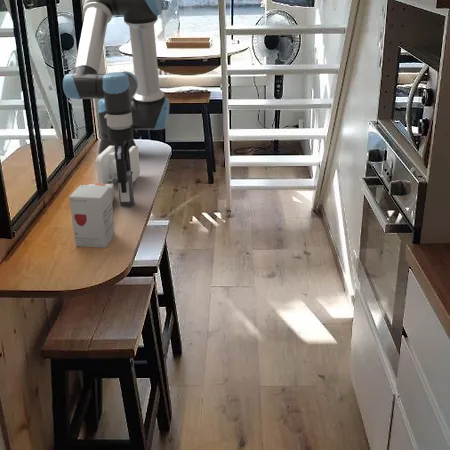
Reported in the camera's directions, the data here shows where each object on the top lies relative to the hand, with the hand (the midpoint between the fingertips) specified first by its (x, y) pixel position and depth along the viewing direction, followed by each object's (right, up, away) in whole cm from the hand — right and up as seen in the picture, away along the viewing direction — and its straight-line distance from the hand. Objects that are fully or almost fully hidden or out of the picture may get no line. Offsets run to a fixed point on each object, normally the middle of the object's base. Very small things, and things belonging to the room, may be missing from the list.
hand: (126, 197), depth 192 cm
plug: (0, -2, +1) cm, 2 cm away
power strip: (-9, -3, -1) cm, 10 cm away
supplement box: (-5, -13, -22) cm, 26 cm away
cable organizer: (-5, +6, +19) cm, 20 cm away
